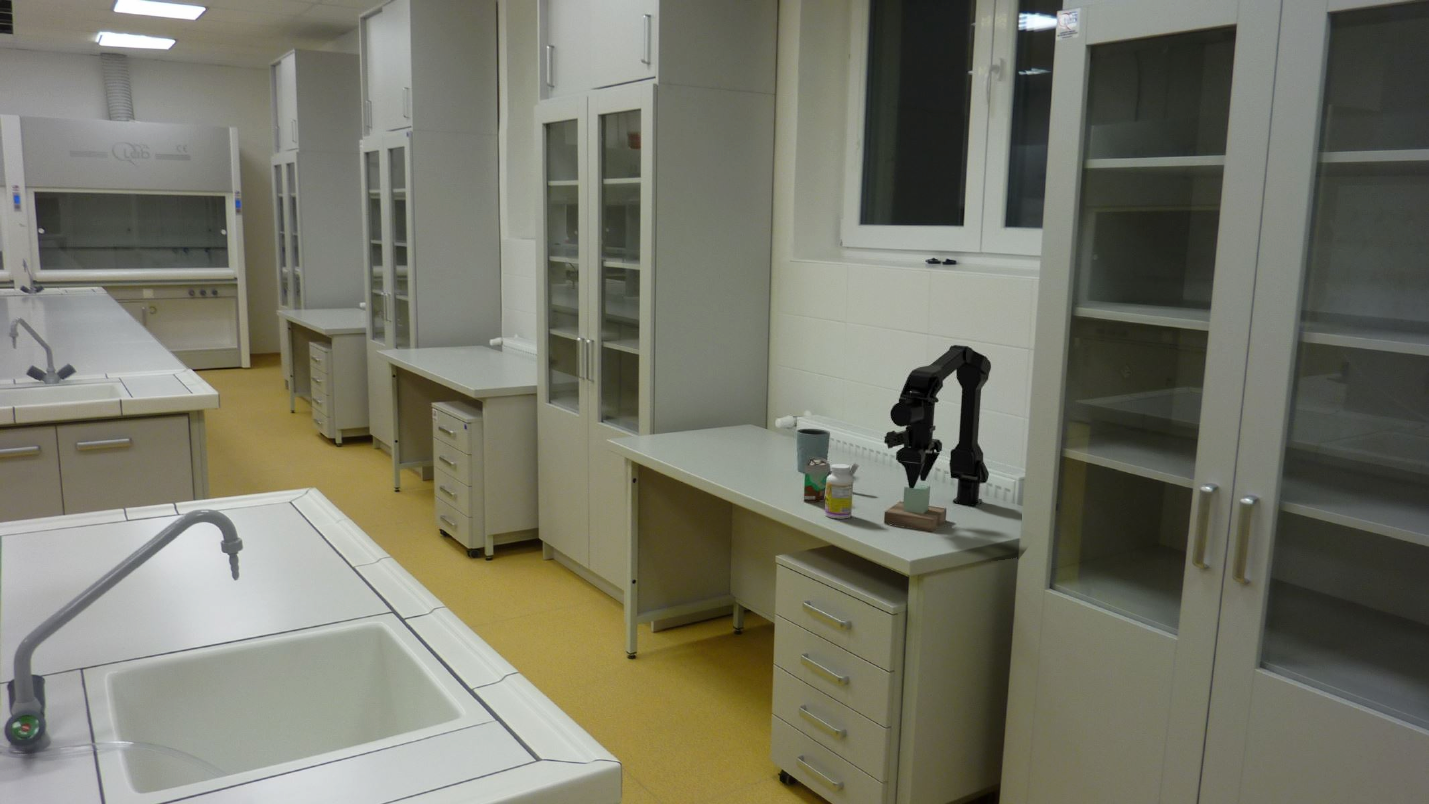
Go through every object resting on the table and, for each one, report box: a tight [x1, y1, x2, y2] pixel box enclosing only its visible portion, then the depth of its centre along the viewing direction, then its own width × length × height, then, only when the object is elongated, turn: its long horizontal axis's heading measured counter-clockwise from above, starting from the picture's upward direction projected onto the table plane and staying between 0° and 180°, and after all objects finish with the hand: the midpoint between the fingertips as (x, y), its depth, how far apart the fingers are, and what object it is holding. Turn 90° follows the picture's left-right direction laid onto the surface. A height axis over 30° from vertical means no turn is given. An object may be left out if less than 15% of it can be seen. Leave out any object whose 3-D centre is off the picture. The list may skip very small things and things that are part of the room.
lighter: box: [849, 462, 860, 478], centre depth 278 cm, size 7×2×8 cm, turn 69°
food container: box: [803, 457, 831, 503], centre depth 269 cm, size 12×6×10 cm, turn 168°
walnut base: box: [883, 500, 948, 532], centre depth 250 cm, size 12×12×3 cm
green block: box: [902, 483, 931, 514], centre depth 249 cm, size 5×5×6 cm
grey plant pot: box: [795, 428, 831, 474], centre depth 300 cm, size 10×10×12 cm
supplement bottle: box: [824, 463, 854, 520], centre depth 252 cm, size 7×7×13 cm
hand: (917, 484), depth 248 cm, fingers open, 9 cm apart
